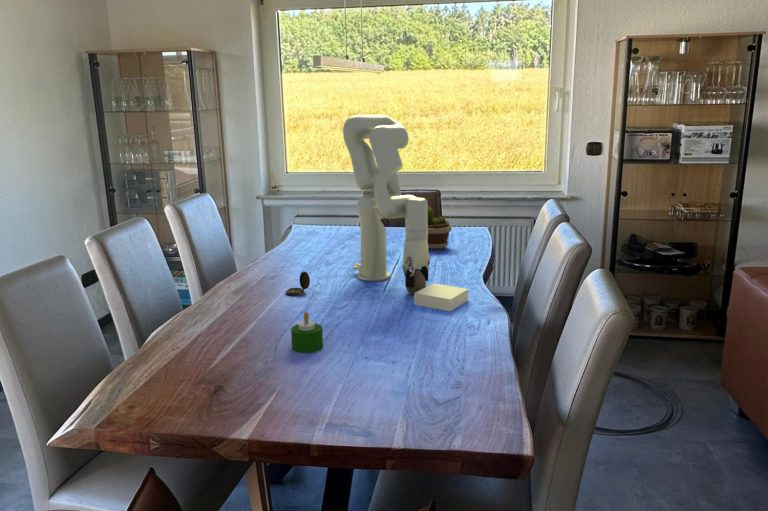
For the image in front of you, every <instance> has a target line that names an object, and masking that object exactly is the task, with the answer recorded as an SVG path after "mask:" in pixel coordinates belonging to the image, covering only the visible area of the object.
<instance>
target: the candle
mask: <svg viewBox="0 0 768 511" xmlns="http://www.w3.org/2000/svg"><path fill="white" fill-rule="evenodd" d="M309 318H310V315H309V313H308V312H307V311H306V312H305V311H304V314H303V321H299V322H298V323H297V324H294V325H293V326H292V327H291V330H290V331H291V332H290V333H291V334H290V335H291V336H290V337H291V349H292V350H293V351H294V353H295V352H296V353H299V354H300V353H302V354H310V353H311V354H312V353H316V352H320V350H322V349H323V347H324V346H323V345H324V344H323V342H324V341H323V326H322V325H321V324H319V323H315V321H313V320H309Z"/></svg>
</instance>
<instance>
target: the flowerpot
mask: <svg viewBox="0 0 768 511" xmlns="http://www.w3.org/2000/svg"><path fill="white" fill-rule="evenodd" d="M434 211H435V209H434V208H433V207H431V206H430V205H428V239H427V240H428V251H442V250H443V251H444V250H445V249H446V248H447V247H448V245H449V241H448V239H449V237H450V236H449V235H450V232H452V229H453V227H452V225H451V224H450V222H449V221H448V220H446V218H445V216H444V215H442V214H439V216H437V217H436V216H435V214H436V213H435V212H434Z"/></svg>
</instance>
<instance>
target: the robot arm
mask: <svg viewBox="0 0 768 511" xmlns="http://www.w3.org/2000/svg"><path fill="white" fill-rule="evenodd" d="M342 135H343V136H342V137H343V140H344V143H345V146H346V149H347V150H348V153H349V156H350V159H351V164H352V170H353V174H354V179H355V182H356V183H355V184H356V186H357V187H358V189H359V190H361V191H367V192H368V191H373V193H366V194H364V195H362V196H361V197H360V198H358V201H357V204H356V205H357V213H358V219H359V227H360V228H359V231H360V263H357V262H356V263H354V265H353V270H357V271H358V273H356V277H357V278H358V280H361V281H366V282H367V281H368V282H381V281H385V280H388V279H390V278H391V275H392V274H391V272H389V271H387V230H386V227H385V226H384V223H383V222H382V220H381V219H387V220H390V219H393V220H394V219H399V218H404V219H405V220H404V223H405V224H404V226H405V227H404V228H405V229H404V230H405V231H404V232H405V233H404V234H405V235H404V236H405V241H404V245H403V256H402V258H403V260H402V266H401V267H402V270H403V274H404V279H405V280H404V281H405V282H404V283H405V284H404V286H405V288H406V287H410V288H414V276H413V274H414V271H415V270H416V269H419V270H420V272H421V273H422V274H423V276H424V277H425V280H426V282H428V281H429V269H430V267H429V266H430V264H431V258H432V257H431V256H432V255H431V254H429V251H430V250H428V240H427V239H428V206H429V203H428V200H427V198H424V197H418V196H415V195H413V194H402V191H401V186H400V181H399V178H398V177H399V176H398V172H399V171H400V170H401V169H402V168H403V162H402V159H401V156H400V152H399V150H400V149H405V148H406V147H407V146H408V143H409V133H408V131H407V130H406V128H405V127H404V126H403V125H402V123H400V122H398V121H397V120H395V119H393V118H392V117H391V116H389V115H385V114H358V115H357V114H356V115H351V116H350V117H348V118H347V119H346V120H345V121H344V123H343V127H342ZM366 139H368V140H369V143H370V145H369V144H368V143H367V142H366V141H365V140H366Z"/></svg>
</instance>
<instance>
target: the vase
mask: <svg viewBox="0 0 768 511" xmlns="http://www.w3.org/2000/svg"><path fill="white" fill-rule="evenodd" d="M413 276H414V288H410V287H406V286H405V288H406V291H407V292H408V294H409V295H411V296H414V293H415V292H417V291H419V290H421V289H423V288H425V287H427V281H426V280H425V277H424V276H423V274H422V273H421V272H420V268H419V269H416V270H415V271H414V274H413Z"/></svg>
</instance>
